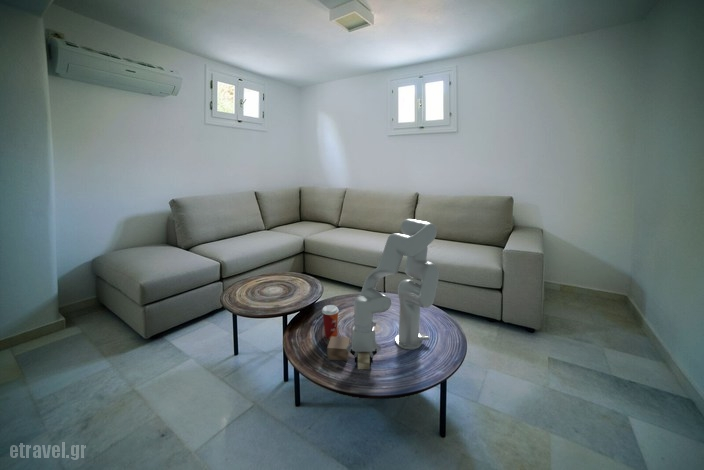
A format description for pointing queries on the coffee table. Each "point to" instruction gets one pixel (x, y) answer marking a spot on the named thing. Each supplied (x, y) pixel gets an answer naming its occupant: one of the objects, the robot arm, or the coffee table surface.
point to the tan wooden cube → (338, 348)
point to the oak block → (363, 360)
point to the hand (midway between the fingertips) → (363, 363)
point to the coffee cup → (330, 320)
